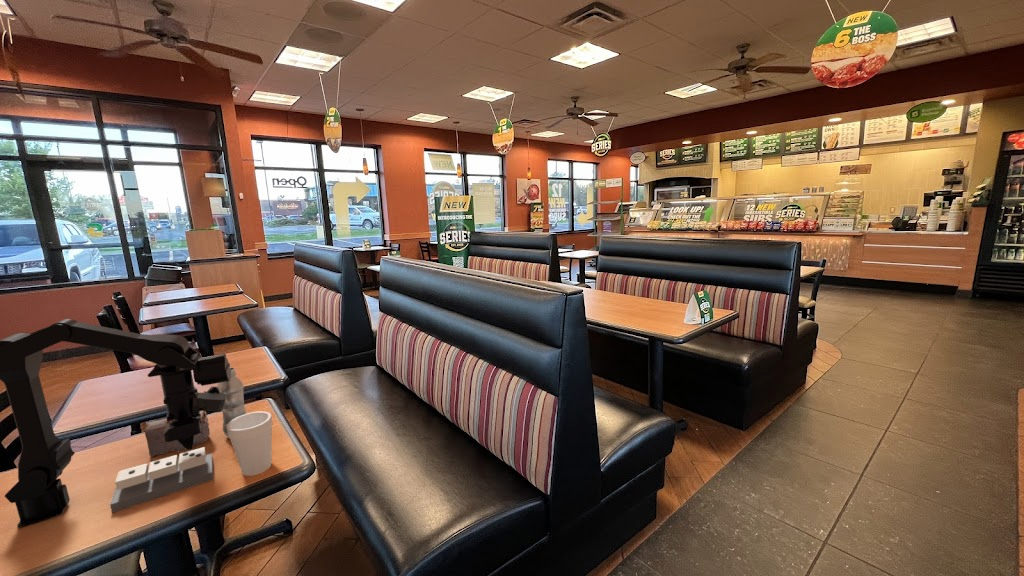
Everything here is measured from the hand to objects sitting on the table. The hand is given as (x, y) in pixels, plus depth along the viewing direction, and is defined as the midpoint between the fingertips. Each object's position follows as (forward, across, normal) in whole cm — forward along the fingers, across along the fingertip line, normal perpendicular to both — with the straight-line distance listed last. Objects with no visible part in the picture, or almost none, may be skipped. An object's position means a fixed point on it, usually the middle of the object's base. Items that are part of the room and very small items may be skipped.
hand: (190, 449), depth 101 cm
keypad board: (+7, 0, +5) cm, 9 cm away
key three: (+4, 0, 0) cm, 4 cm away
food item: (+8, +19, +4) cm, 21 cm away
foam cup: (+7, -6, -13) cm, 16 cm away
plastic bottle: (+7, +16, -10) cm, 20 cm away
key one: (+4, 0, +11) cm, 11 cm away
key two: (+4, 0, +5) cm, 7 cm away
